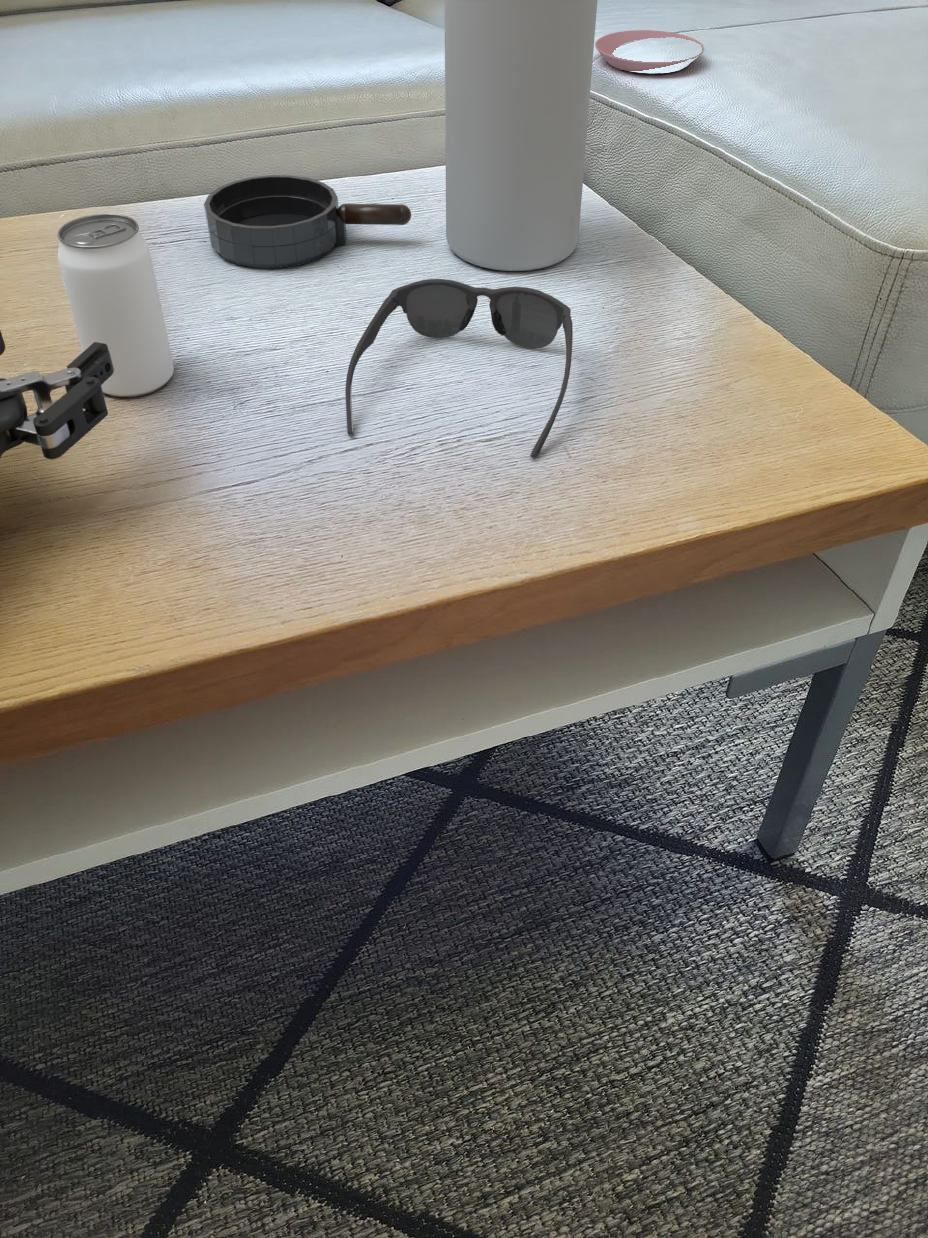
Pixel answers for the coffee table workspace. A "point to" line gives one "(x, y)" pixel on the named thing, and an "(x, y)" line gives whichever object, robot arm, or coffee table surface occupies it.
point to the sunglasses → (449, 311)
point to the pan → (272, 220)
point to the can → (116, 300)
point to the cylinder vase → (516, 128)
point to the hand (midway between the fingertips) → (50, 344)
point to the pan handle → (370, 216)
